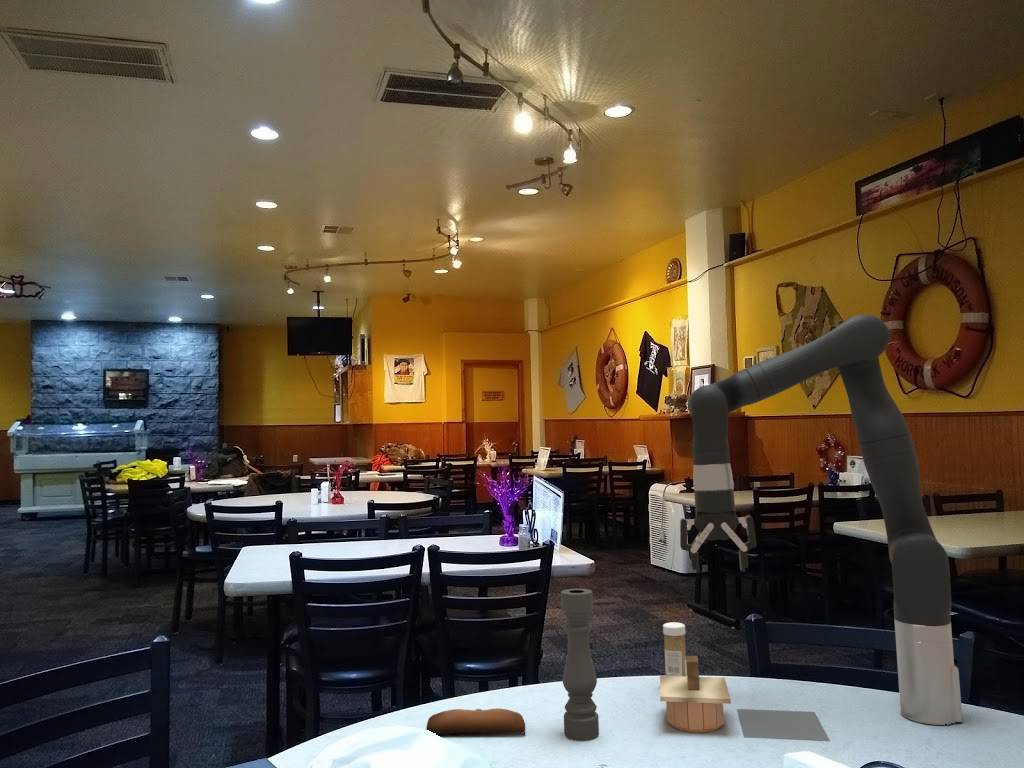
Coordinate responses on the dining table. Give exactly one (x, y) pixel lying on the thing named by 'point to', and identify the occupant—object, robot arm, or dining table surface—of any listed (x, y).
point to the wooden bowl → (695, 716)
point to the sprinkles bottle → (675, 649)
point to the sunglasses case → (476, 721)
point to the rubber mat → (781, 725)
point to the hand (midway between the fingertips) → (719, 571)
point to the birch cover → (693, 686)
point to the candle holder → (579, 667)
